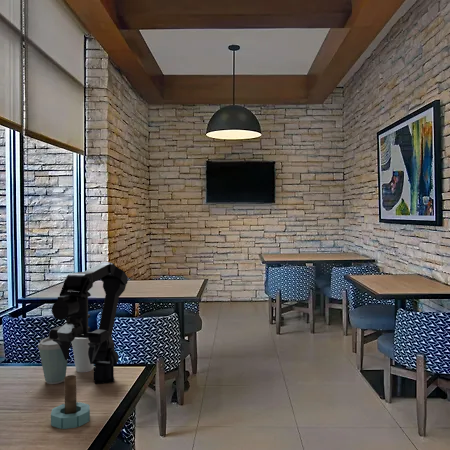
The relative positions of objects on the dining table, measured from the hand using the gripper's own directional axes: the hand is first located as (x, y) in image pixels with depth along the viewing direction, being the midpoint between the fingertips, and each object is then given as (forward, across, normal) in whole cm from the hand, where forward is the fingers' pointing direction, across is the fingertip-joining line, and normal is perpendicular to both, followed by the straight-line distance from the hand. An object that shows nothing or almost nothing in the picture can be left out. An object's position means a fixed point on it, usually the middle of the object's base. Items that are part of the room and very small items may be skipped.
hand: (79, 361), depth 151 cm
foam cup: (+12, -14, +24) cm, 31 cm away
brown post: (+12, +7, -15) cm, 20 cm away
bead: (+12, +7, -15) cm, 20 cm away
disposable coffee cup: (+12, -17, +10) cm, 23 cm away
